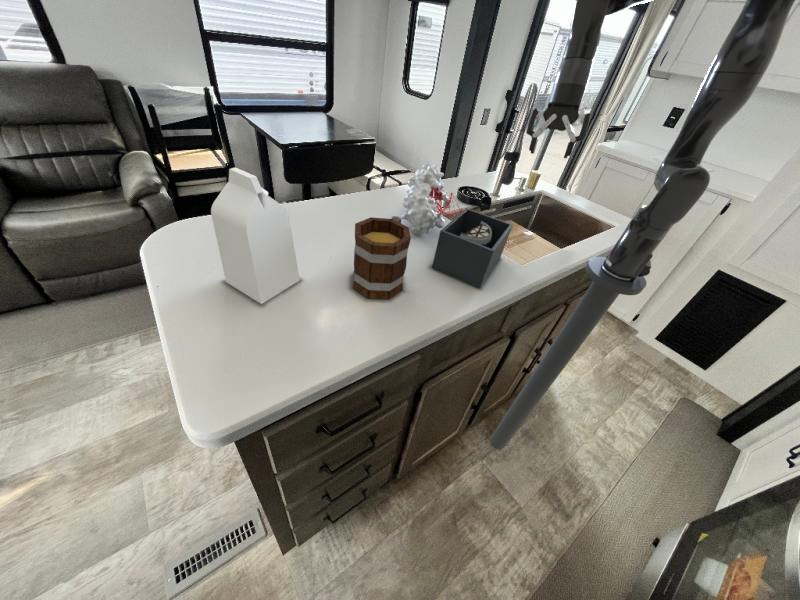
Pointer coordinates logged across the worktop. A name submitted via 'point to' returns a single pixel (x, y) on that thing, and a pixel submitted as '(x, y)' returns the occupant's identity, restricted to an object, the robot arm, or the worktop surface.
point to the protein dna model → (426, 200)
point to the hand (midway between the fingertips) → (548, 155)
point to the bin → (470, 248)
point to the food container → (479, 234)
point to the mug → (380, 257)
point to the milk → (253, 238)
